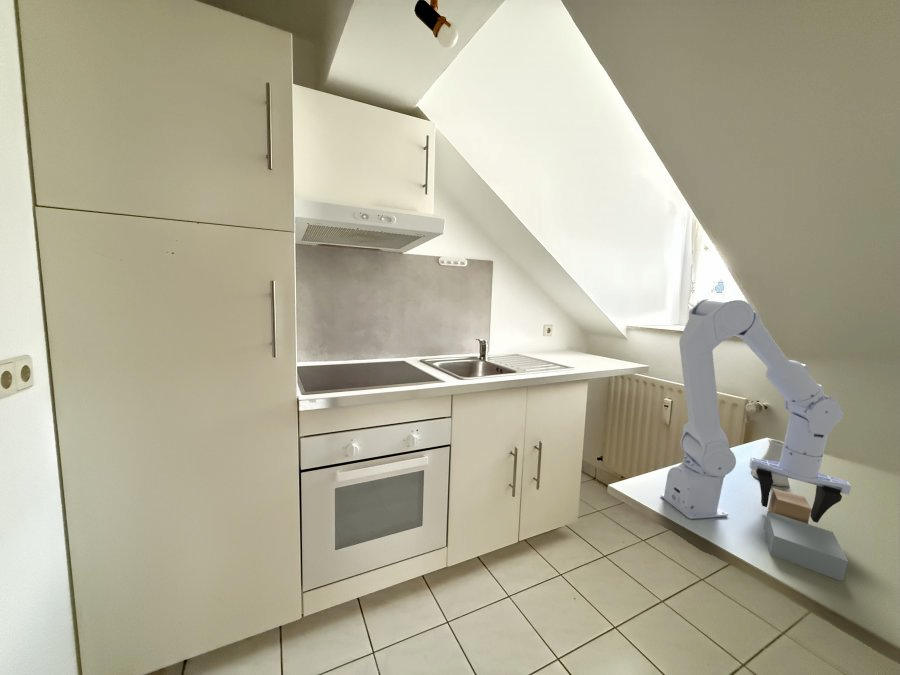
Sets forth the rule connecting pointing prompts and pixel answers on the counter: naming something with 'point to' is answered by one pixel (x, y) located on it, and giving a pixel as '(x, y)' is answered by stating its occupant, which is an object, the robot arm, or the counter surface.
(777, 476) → the flask
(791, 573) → the counter surface
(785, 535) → the slate block
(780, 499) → the walnut cube
